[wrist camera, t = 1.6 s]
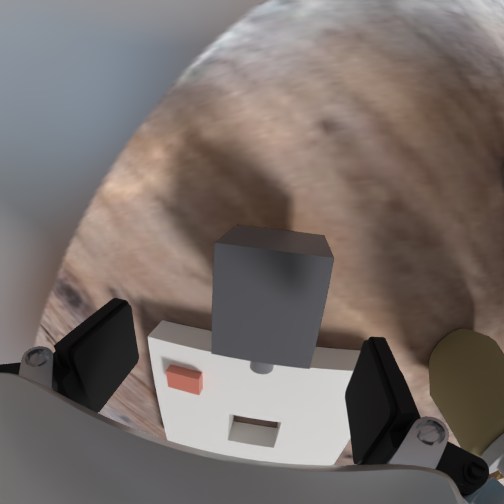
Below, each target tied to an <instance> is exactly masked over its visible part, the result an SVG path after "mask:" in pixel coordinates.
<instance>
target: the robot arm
mask: <svg viewBox="0 0 504 504" xmlns="http://www.w3.org/2000/svg"><path fill="white" fill-rule="evenodd" d="M54 348H55V350H56V352H54V353H53V352H52V351H51V350H50V349H49V348H47V347H43V346H38V347H34V348H31V349H29V350H28V351H26V352H25V353H24V355H23V357H22V360H21V363H12V364H2V365H0V504H504V486H503V485H502V484H501V483H500V482H499V481H498V480H496V479H495V478H494V477H492V478H491V479H490V478H489V467H488V465H487V463H486V462H485V461H484V460H483V459H482V458H480V457H478V456H476V455H474V454H472V453H470V452H468V451H466V450H464V449H462V448H460V447H458V446H456V445H454V444H452V443H450V442H448V438H449V432H448V429H447V427H446V425H445V424H444V423H443V422H442V421H440V420H439V419H437V418H434V417H422V418H421V417H420V415H419V412H418V410H417V407H416V405H415V402H414V400H413V397H412V395H411V392H410V390H409V388H408V385H407V383H406V381H405V378H404V376H403V374H402V372H401V371H400V369H399V367H398V365H397V363H396V361H395V358H394V356H393V354H392V352H391V350H390V348H389V345H388V343H387V341H386V339H385V338H384V337H370V338H369V339H368V340H365V341H364V343H363V346H362V349H361V351H360V354H359V357H358V360H357V363H356V365H355V368H354V371H353V373H352V376H351V378H350V381H349V383H348V386H347V388H346V391H345V402H346V409H347V415H348V422H349V429H350V436H351V444H352V453H353V461H354V464H358V465H302V464H287V463H276V462H267V461H259V460H252V459H245V458H239V457H234V456H228V455H223V454H218V453H214V452H209V451H205V450H201V449H197V448H193V447H189V446H185V445H182V444H178V443H175V442H172V441H168V440H165V439H162V438H159V437H156V436H153V435H150V434H147V433H144V432H142V431H139V430H136V429H134V428H131V427H129V426H126V425H124V424H121V423H119V422H116V421H114V420H112V419H109V418H107V417H105V416H103V415H101V414H98V412H100V410H101V409H102V408H103V407H104V405H105V404H106V403H107V401H108V400H109V399H110V397H111V396H112V395H113V393H114V392H115V391H116V390H117V388H118V387H119V386H120V384H121V383H122V382H123V380H124V379H125V378H126V377H127V375H128V374H129V373H130V371H131V370H132V369H133V368H134V366H135V365H136V364H137V362H138V359H139V354H138V348H137V342H136V336H135V330H134V323H133V315H132V308H131V306H130V305H129V303H128V302H127V301H126V300H122V299H118V298H113V299H112V300H111V301H109V302H108V303H107V304H105V305H104V306H103V307H102V308H100V309H99V310H98V311H96V312H95V313H94V314H93V315H91V316H90V317H89V318H87V319H86V320H85V321H84V322H82V323H81V324H80V325H79V326H77V327H76V328H75V329H74V330H72V331H71V332H70V333H69V334H67V335H66V336H65V337H64V338H63V339H61V340H60V341H59V342H58V343H57V344H55V345H54Z"/></svg>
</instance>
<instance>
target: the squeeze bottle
mask: <svg viewBox="0 0 504 504" xmlns="http://www.w3.org/2000/svg"><path fill="white" fill-rule="evenodd" d="M429 381H430V395H431V397H432V399H433V401H434V402H435V404H436V405H437V407H438V409H439V410H440V412H441V414H442V415H443V417H444V419H445V420H446V422H447V424H448V425H449V427H450V429H451V430H452V432H453V434H454V436H455V437H456V439H457V441H458V443H459V445H460V446H461V448H462V449H464V450H466V451H468V452H470V453H472V454H474V455H476V456H478V457H480V458H482V459H483V460H484V461H485V462H486V463H487V465H488V467H489V474H491V473H493V472H495V471H497V470H499V471H500V472H501V474H502V475H503V476H504V353H503V352H502V350H501V349H500V347H499V346H498V344H497V343H496V341H494V340H493V339H492V338H490V337H489V336H486V335H483V334H480V333H478V332H475V331H472V330H469V329H458V330H455V331H453V332H451V333H449V334H448V335H447V336H445V337H444V338H443V339H442V340H440V342H439V343H438V344H437V346H436V347H435V348H434V349H433V352H432V354H431V356H430V358H429Z"/></svg>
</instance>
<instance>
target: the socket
mask: <svg viewBox="0 0 504 504" xmlns="http://www.w3.org/2000/svg"><path fill="white" fill-rule="evenodd" d="M211 339H212V331H209V330H204V329H199V328H195V327H190V326H185V325H181V324H177V323H172V322H168V321H164V320H162V321H161V322H160V323H159V324H158V325H157V327H156V328H155V329H154V330H153V331H152V332H151V333H150V334H149V335H148V344H149V351H150V358H151V364H152V370H153V376H154V381H155V387H156V392H157V397H158V402H159V406H160V411H161V415H162V420H163V424H164V428H165V432H166V436H167V440H168V441H172V442H175V443H178V444H182V445H185V446H189V447H193V448H197V449H201V450H205V451H209V452H214V453H218V454H223V455H228V456H234V457H239V458H245V459H252V460H259V461H267V462H276V463H287V464H302V465H333V464H334V463H335V461H336V460H337V458H338V457H339V455H340V454H341V452H342V451H343V449H344V447H345V446H346V444H347V443H348V441H349V439H350V438H351V436H350V429H349V422H348V415H347V409H346V402H345V391H346V388H347V386H348V383H349V381H350V378H351V376H352V373H353V371H354V368H355V365H356V363H357V360H358V357H359V354H360V350H346V349H334V348H324V347H315V350H314V354H313V358H312V362H311V365H310V369H304V368H295V367H287V366H280V365H274V367H273V370H272V372H270V373H268V374H257V373H255V372H253V371H252V370H251V369H250V361H247V360H241V359H236V358H230V357H225V356H220V355H215V354H211ZM234 415H237V416H242V417H248V418H254V419H260V420H266V421H274V422H278V426H277V428H273V427H266V426H259V425H253V424H247V423H241V422H236V421H234Z"/></svg>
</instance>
